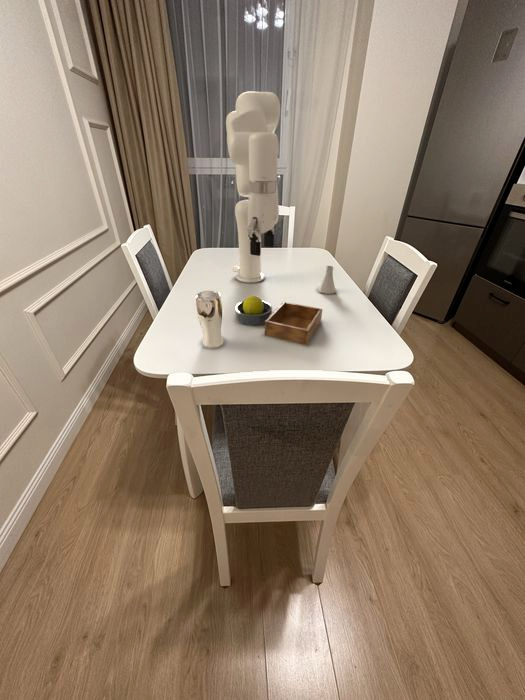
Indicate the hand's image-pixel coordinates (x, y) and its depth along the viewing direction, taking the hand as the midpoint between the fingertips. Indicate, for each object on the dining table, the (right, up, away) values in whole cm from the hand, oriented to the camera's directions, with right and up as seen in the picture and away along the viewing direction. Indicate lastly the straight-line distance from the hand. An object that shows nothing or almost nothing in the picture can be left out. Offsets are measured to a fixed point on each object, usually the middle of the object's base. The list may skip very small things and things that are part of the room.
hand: (262, 250), depth 89 cm
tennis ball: (-3, -20, +9) cm, 22 cm away
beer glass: (-15, -29, -4) cm, 33 cm away
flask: (+26, -7, +28) cm, 39 cm away
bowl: (-3, -20, +8) cm, 22 cm away
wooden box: (+10, -24, +3) cm, 26 cm away
